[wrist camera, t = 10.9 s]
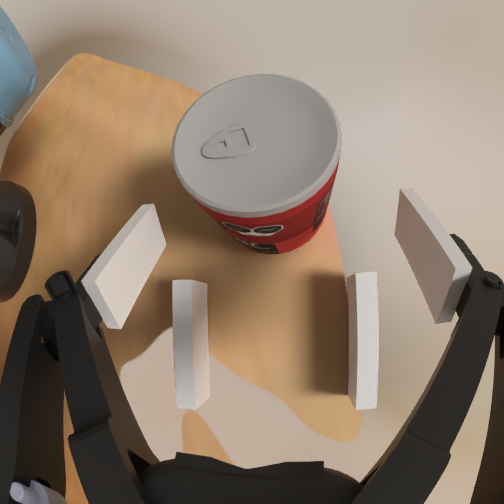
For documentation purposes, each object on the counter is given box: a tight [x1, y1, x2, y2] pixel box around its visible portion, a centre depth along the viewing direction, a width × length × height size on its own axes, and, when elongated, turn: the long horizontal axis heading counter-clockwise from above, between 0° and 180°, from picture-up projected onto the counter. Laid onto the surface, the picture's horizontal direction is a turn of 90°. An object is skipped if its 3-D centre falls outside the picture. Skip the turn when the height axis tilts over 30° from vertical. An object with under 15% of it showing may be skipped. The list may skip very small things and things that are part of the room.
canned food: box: [172, 74, 342, 254], centre depth 18 cm, size 8×8×11 cm
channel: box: [172, 272, 379, 410], centre depth 20 cm, size 9×13×4 cm
